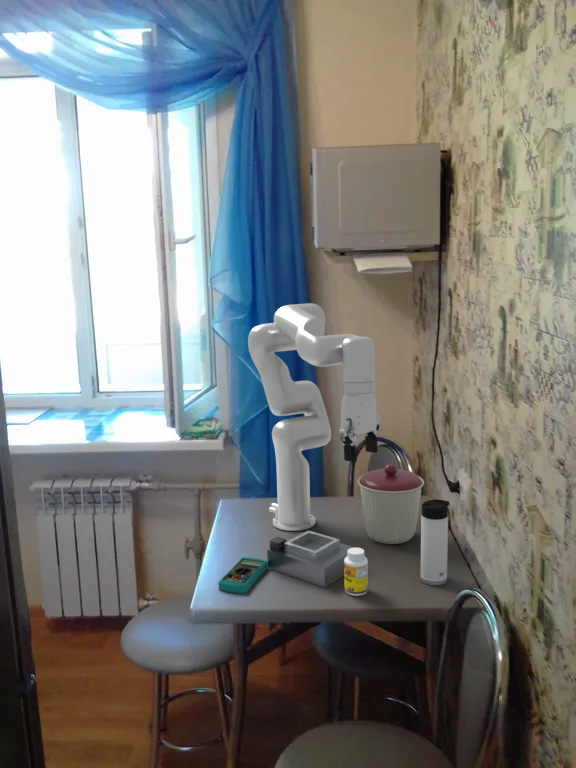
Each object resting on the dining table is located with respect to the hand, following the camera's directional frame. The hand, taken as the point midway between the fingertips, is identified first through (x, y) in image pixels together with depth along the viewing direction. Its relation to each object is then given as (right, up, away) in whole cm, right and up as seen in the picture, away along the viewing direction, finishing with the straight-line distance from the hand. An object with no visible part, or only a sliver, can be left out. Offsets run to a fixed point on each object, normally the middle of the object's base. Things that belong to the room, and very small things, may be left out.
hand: (361, 456), depth 174 cm
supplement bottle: (-2, -31, -7) cm, 32 cm away
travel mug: (+18, -30, -2) cm, 35 cm away
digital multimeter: (-29, -31, +1) cm, 42 cm away
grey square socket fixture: (-12, -29, +6) cm, 32 cm away
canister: (+11, -25, +23) cm, 36 cm away
